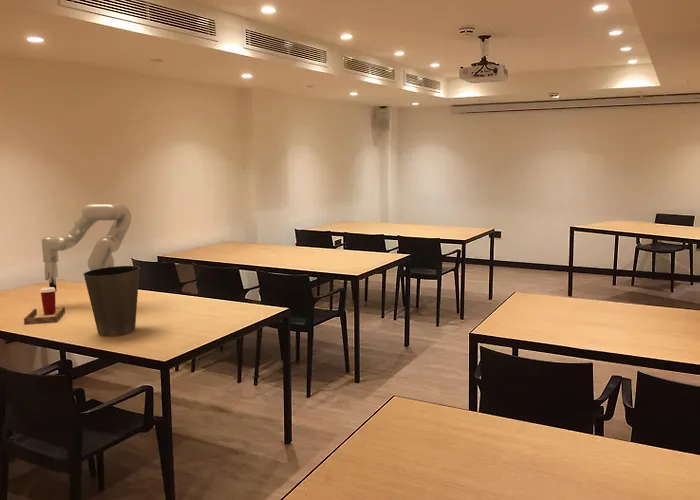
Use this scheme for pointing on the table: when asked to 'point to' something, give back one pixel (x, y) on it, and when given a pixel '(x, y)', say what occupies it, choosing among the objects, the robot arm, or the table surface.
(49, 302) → the paper cup
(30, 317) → the u rest
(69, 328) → the table surface
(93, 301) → the waste basket
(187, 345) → the table surface
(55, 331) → the table surface
